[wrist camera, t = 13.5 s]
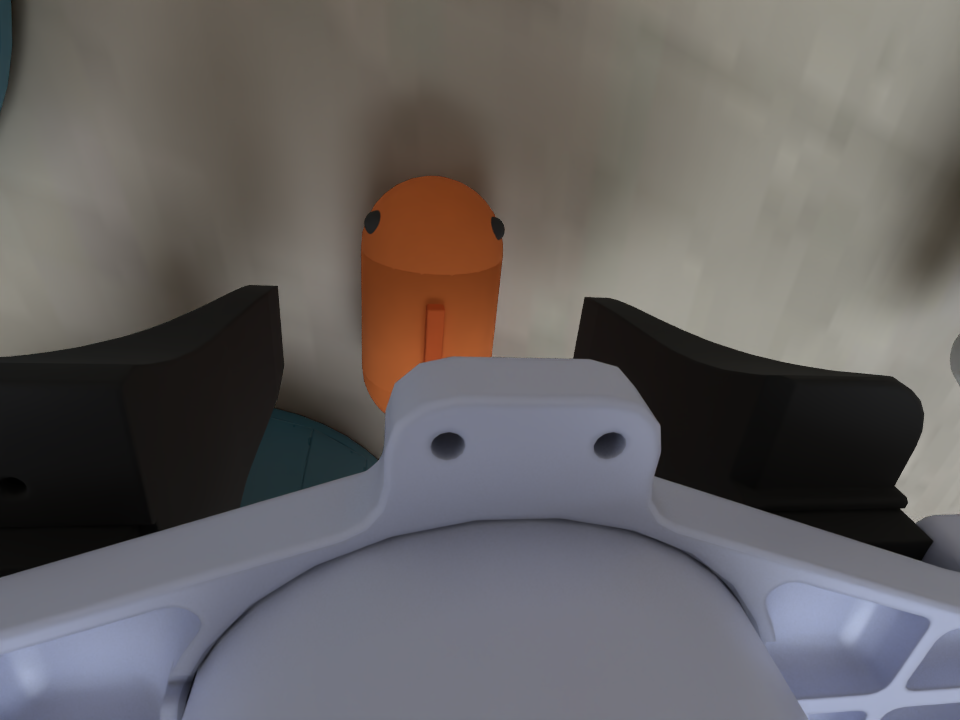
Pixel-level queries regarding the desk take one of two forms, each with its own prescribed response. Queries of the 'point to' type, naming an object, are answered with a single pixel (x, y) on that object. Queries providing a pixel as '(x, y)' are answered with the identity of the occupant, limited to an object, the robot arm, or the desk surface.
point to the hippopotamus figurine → (955, 359)
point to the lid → (5, 46)
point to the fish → (427, 279)
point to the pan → (300, 457)
